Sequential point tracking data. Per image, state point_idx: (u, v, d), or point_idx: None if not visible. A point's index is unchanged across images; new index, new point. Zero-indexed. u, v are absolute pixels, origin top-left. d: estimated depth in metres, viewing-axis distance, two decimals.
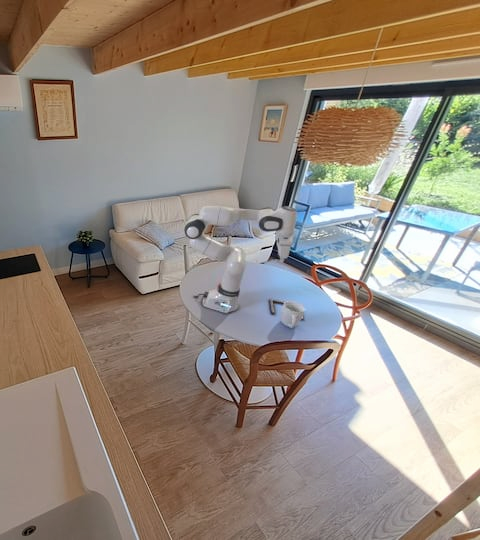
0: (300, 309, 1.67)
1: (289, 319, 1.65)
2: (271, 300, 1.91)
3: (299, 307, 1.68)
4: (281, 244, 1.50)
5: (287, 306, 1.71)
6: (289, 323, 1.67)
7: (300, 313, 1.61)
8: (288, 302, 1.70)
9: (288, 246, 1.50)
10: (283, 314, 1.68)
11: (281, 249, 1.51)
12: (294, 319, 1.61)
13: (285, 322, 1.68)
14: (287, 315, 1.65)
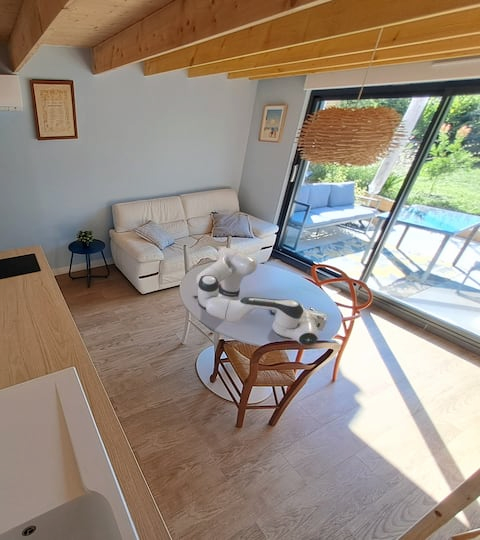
0: None
1: None
2: None
3: None
4: None
5: None
6: None
7: None
8: None
9: None
10: None
11: None
12: None
13: None
14: None
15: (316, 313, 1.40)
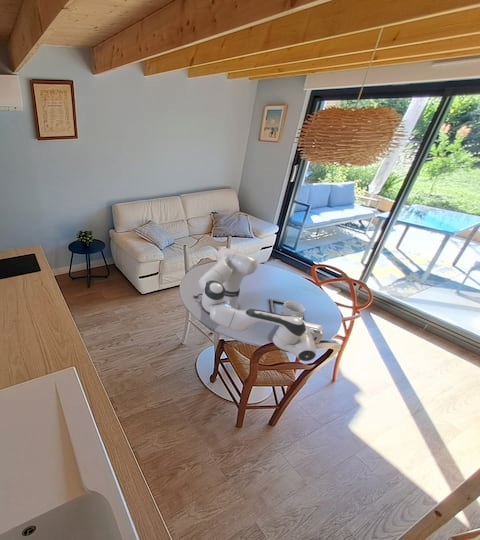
0: (300, 309, 1.67)
1: None
2: (271, 300, 1.91)
3: (299, 307, 1.68)
4: None
5: (287, 306, 1.71)
6: None
7: (300, 313, 1.61)
8: (288, 302, 1.70)
9: None
10: (283, 314, 1.68)
11: None
12: None
13: None
14: None
15: (312, 325, 1.47)
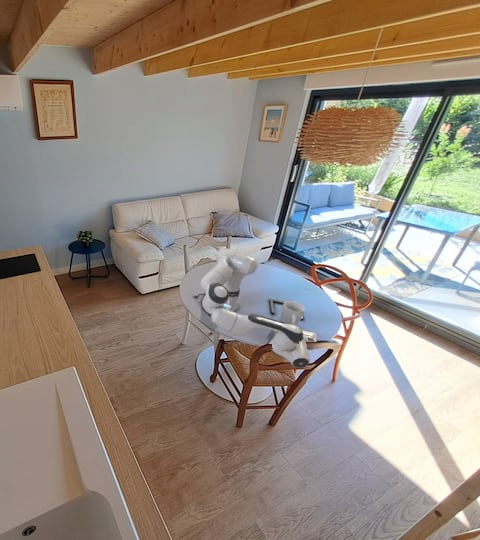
0: (300, 308, 1.68)
1: (289, 319, 1.65)
2: (271, 300, 1.91)
3: (299, 307, 1.68)
4: None
5: (287, 306, 1.72)
6: None
7: (300, 313, 1.62)
8: (288, 302, 1.70)
9: None
10: (283, 314, 1.68)
11: None
12: (294, 319, 1.61)
13: (285, 322, 1.68)
14: (287, 315, 1.65)
15: (307, 333, 1.53)
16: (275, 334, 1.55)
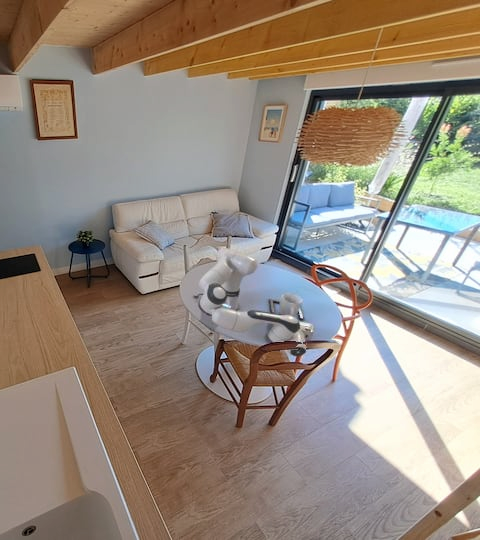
0: (297, 301, 1.74)
1: (287, 311, 1.72)
2: (271, 300, 1.91)
3: (296, 299, 1.75)
4: None
5: (285, 298, 1.78)
6: None
7: (298, 305, 1.68)
8: (286, 294, 1.77)
9: None
10: (281, 306, 1.74)
11: None
12: (293, 311, 1.67)
13: None
14: (285, 307, 1.72)
15: (304, 324, 1.60)
16: (274, 325, 1.62)
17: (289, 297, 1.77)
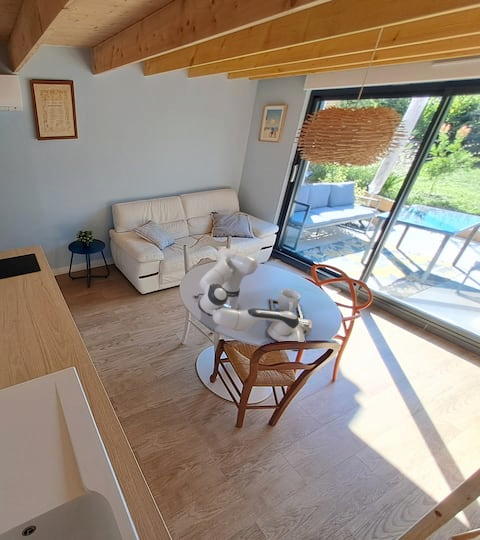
0: (296, 296, 1.79)
1: (286, 306, 1.76)
2: (271, 300, 1.91)
3: (295, 294, 1.79)
4: None
5: (284, 294, 1.82)
6: (286, 310, 1.77)
7: (296, 300, 1.72)
8: (284, 290, 1.81)
9: None
10: (280, 302, 1.78)
11: None
12: (292, 306, 1.71)
13: (282, 309, 1.79)
14: (284, 302, 1.76)
15: (303, 320, 1.63)
16: (273, 321, 1.65)
17: (288, 293, 1.82)
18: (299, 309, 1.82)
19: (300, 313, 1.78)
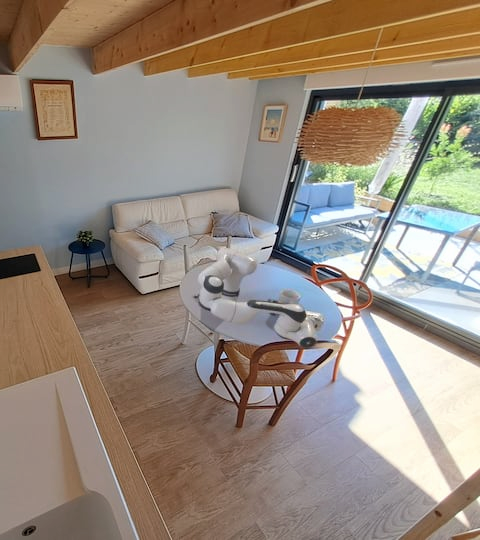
0: (296, 296, 1.79)
1: None
2: (271, 300, 1.91)
3: (295, 294, 1.79)
4: None
5: (284, 294, 1.82)
6: None
7: (296, 300, 1.72)
8: (284, 290, 1.81)
9: None
10: (280, 302, 1.78)
11: None
12: None
13: None
14: (284, 302, 1.76)
15: (313, 314, 1.49)
16: None
17: (288, 293, 1.82)
18: None
19: None
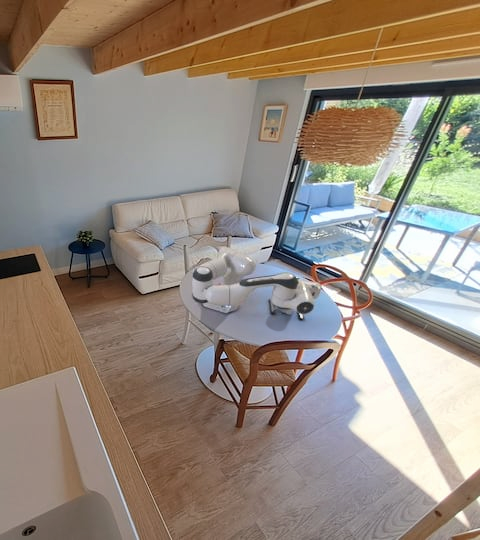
0: None
1: None
2: None
3: None
4: None
5: None
6: (286, 310, 1.77)
7: None
8: None
9: None
10: None
11: None
12: None
13: (282, 309, 1.79)
14: None
15: (310, 283, 1.49)
16: None
17: None
18: None
19: None
